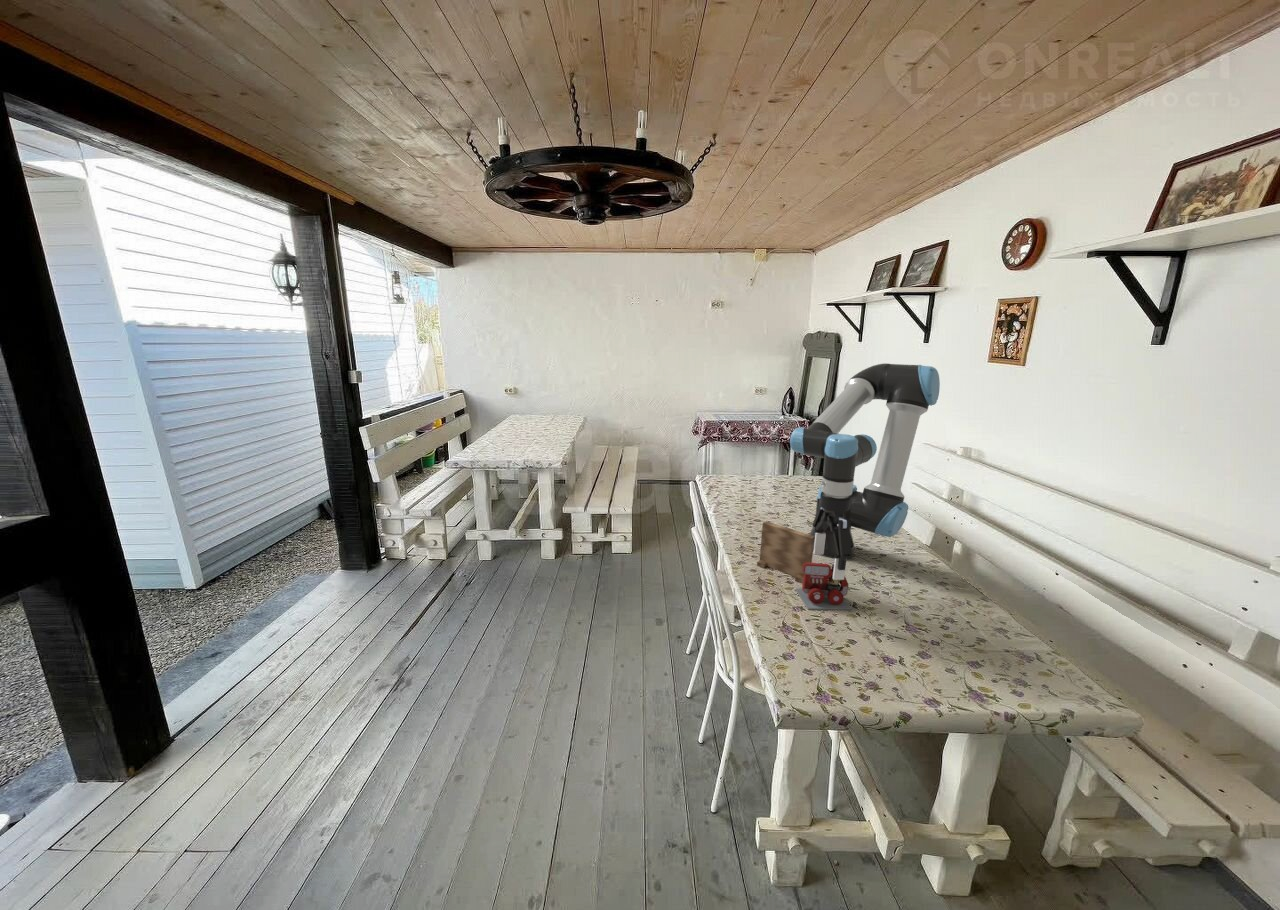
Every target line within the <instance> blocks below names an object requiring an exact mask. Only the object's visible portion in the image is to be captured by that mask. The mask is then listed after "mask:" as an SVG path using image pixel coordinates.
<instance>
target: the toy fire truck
mask: <svg viewBox="0 0 1280 910" xmlns="http://www.w3.org/2000/svg"><path fill="white" fill-rule="evenodd" d="M833 570H834V563H833V564H832V565H830V564H829V563H822V562H820V563H819V562H818V563H817V562H812V563H807V562H806V563H804V564H803V572H804V576H803V583H802V586H801V588H802V590H803V591H804V592H805V593H808V597H809V599H810V601H811V602H813V603H821V602H822V601H823V600H824V594H825V595H827V598H828V600H829V602H830V603H831V604H833V605H839V604H841V603H842V602H843V600H844V599H845V598H844V596H847V595H848V590H849V583H848V580H847V577H846V575H845V576H844V580H833Z"/></svg>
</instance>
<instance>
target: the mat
mask: <svg viewBox="0 0 1280 910" xmlns="http://www.w3.org/2000/svg"><path fill="white" fill-rule="evenodd" d="M794 590H795V591H796V593H797V594H798V596H799V598H800V599H801V601H802V602H803V604H804V606H805V607H806V609H807V610H815V611H816V610H817V611H824V610H825V611H828V610H829V611H830V610H831V611H835V610H837V611H838V610H839V611H842V610H843V611H845V610H847V611H852V610H853V608H852V606H851V605H850V604H849V602H848V601H847V600H846V598H844V600H843V602H842V603H841V604H839V605H833V604H831V603H830V602H829V600H828V598H827V595H825V594H824V600H823V601H822V602H821V603H813V602H811V601H810V599H809V597H808V593H805V592H804V591H803V590H802V587H801V588H797V587H796V588H795V589H794Z"/></svg>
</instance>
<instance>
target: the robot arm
mask: <svg viewBox="0 0 1280 910" xmlns="http://www.w3.org/2000/svg"><path fill="white" fill-rule="evenodd" d="M940 383H941V381H940V375H939V371H938V370H937V368H936V367H934V366H929V365H922V364H898V363H885V362H884V363H878V364H875V365H872V366H870V367H869V366H868V367H866V368H865V369H862V370H861V371H859V372H858V373H856V374H854V375H853V376H852V377H850V378H849V379H848V380H847V382H846V383H845V384H844V387H843V391H841V393H839V395H838V396H837V397H835V398H834V400H833V401H832V402H831V403H830V404H829V405H828V406H827V407H826V408H825V410H824V411H823V412H822V413H821V414H820V415H819V416H818V417H817V418H816V419H815V420H814V421H813V422H812V423H811V424H810V425H809V426H808V427H805V426H803V427H799V426H798V427H796V428H794V430H793V431H792V433H791V434H790V439H789V444H790V445H789V446H790V448H791V450H792V451H793V452H795V453H799V454H802V455H805V456H810V457H811V456H812V457H817V458H822V459H824V460H823V469H822V471H823V472H822V479H821V482H820V486H819V488H818V492H817V495H816V507H815V516H814V520H813V523H812V528H811V530H810V532H809V535H812V536H815V538H814V546H813V555H817V556H819V555H821V556H823V557H829V558H834V563H833V564H834V570H833V580H844V576H845V577H846V566H847V561H848V560H853V554H854V551H855V550H854V549H855V543H854V540H853V539H854V538H853V535H852V528H853V527H854V528H856V529H858V530H863V531H866V532H868V533H869V532H870V533H873V534H875V535H876V536H877V535H879V536H883V537H886V538H889V537H890V538H891V537H894V536H896V535H897V534H898V532H899V531H900V530H901V529H902V527H903V525H904V524H905V522H906V519H907V516H908V512H909V504H907V503H906V502H905V495H904V494H903V492H902V486H903V482H904V479H905V475H906V472H907V471H906V470H907V467H908V464H909V460H910V456H911V453H912V448H913V444H914V440H915V436H916V432H917V429H918V425H919V423H920V418H921V416H922V415H923V414H925V413H927V412H928V410H929V406H934V405H937V402H938V399H939V397H940V395H939V394H940V389H941V388H940V387H941V386H940V385H941V384H940ZM873 400H881V401H882V400H883V401H886V403H885V407H887V409H888V410H889V412H888V416H887V419H886V423H885V427H884V432H883V436H882V437H881V438H882V440H881V443H880V447H879V451H878V454H877V458H876V460H875V461H876V462H875V465H874V466H875V467H874V470H873V472H872V473H873V474H872V478H871V482H870V484H867V485H865V486H864V487H863V491H862V492H861V491H857V490H858V487H857V485H855V484H854V480H855V479H854V478H855V471H856V467H858V466H860V465H862V464H865V463H867V462H869V461H870V460H871V459H872V458H873V457H874V456H875V455H876V453H877V449H878V448H877V443H876V441H875V439H873V437H871V435H867V434H863V433H862V434H855V435H851V434H845V433H840V432H841V431H842V430H843V429H844V427H845V426H846V425H847V424H848V423H849V422H850V420H852V419H853V417H854V416H855V415H856V413H858V412H859V410H860V409H861V408H862V407H863V406H864V405H867V404H869V403H870V402H872V401H873Z"/></svg>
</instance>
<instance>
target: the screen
mask: <svg viewBox="0 0 1280 910" xmlns="http://www.w3.org/2000/svg"><path fill="white" fill-rule="evenodd" d="M809 534H810V533H809ZM809 534H808V533H806V532H805V533H804V532H803V531H799V530H796V529H792V528H789V527H786V526H783V525H779V524H776V523H773V522H770V521H768V520H765V521H763V522H762V528H761V541H760V552H759V560H758V561H756V566H758V567H761V568H762V569H765V568H766V567H769V568H771V569H774V570H777V571H779V572H781V573H784V574H787V575H790V576H791V577H795V578H794V580H795V581H796V582H798V583H800V584H803V576H804V572H803V564H804V563H806V562H807V563H813V555H814V554H813V546H814V538H815V536H812V535H809Z"/></svg>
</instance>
